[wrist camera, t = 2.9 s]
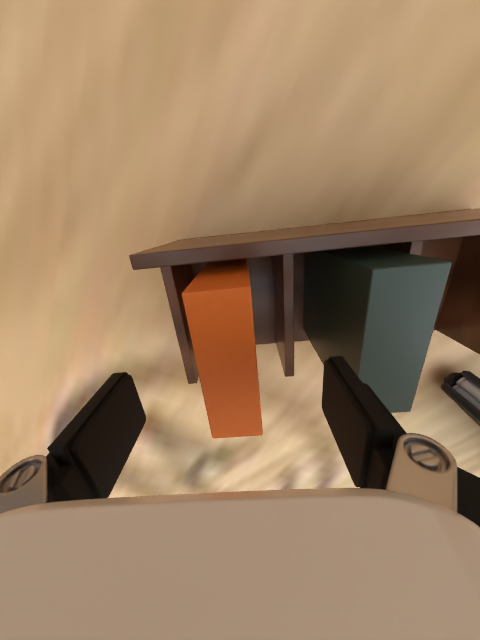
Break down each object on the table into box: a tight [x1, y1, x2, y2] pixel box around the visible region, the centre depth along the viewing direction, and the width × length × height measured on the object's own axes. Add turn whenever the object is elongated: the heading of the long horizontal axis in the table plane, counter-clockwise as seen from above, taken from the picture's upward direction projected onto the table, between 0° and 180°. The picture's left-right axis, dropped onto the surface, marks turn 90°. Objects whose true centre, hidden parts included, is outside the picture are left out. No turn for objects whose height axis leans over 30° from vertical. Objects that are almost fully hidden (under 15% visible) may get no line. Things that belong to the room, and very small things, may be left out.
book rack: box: [129, 208, 480, 384], centre depth 19 cm, size 12×27×11 cm, turn 96°
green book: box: [303, 246, 452, 413], centre depth 17 cm, size 9×4×12 cm, turn 6°
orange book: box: [182, 259, 263, 438], centre depth 17 cm, size 9×3×13 cm, turn 6°
